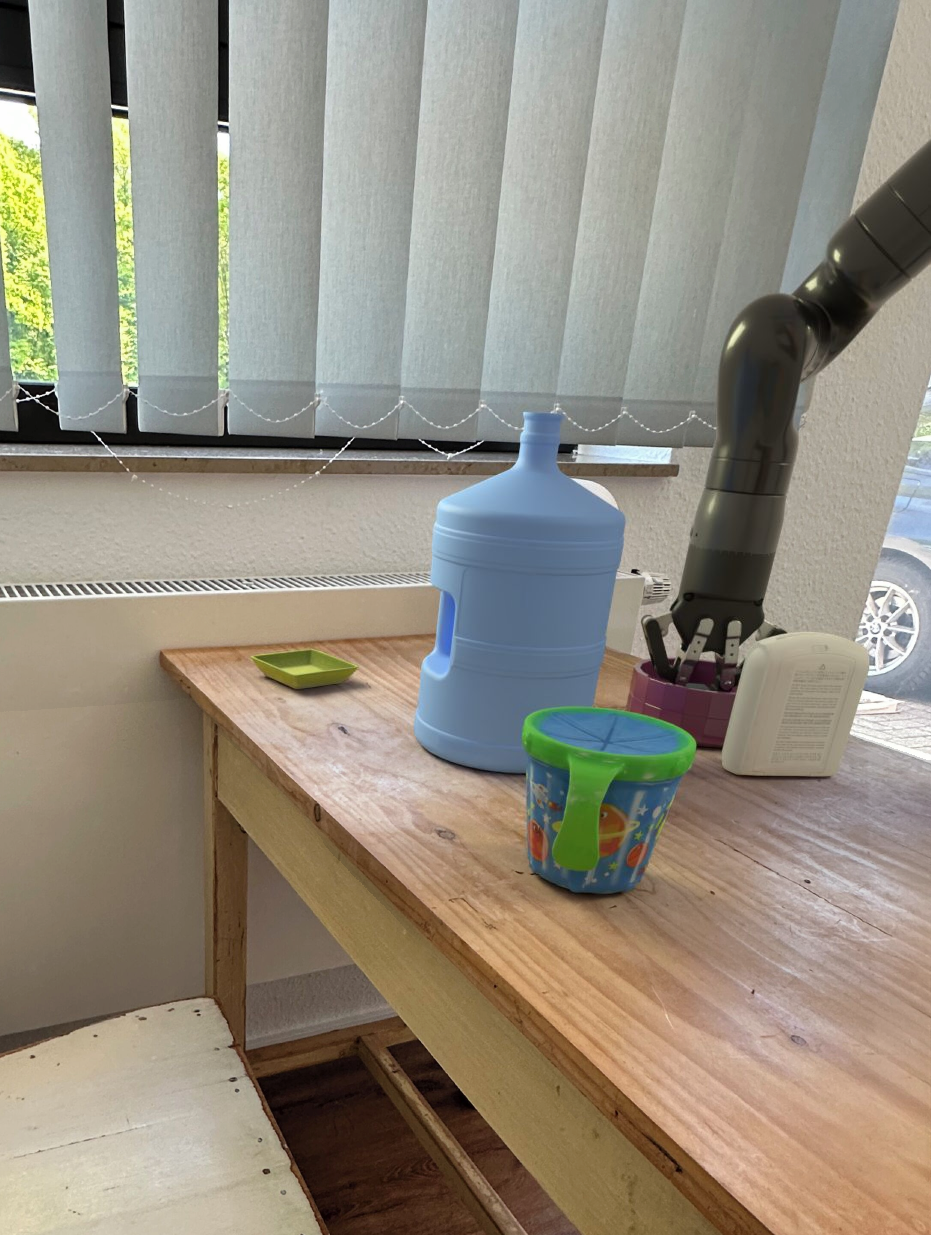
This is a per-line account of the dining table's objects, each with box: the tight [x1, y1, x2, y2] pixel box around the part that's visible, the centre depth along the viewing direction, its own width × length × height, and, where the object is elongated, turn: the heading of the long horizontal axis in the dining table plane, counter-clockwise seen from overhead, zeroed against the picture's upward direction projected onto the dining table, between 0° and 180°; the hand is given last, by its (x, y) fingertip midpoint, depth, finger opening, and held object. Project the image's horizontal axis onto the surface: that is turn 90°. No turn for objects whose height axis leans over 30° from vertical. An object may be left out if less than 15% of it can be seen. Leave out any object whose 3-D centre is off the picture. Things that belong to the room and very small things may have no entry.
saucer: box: [250, 648, 359, 690], centre depth 104 cm, size 9×9×2 cm
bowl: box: [625, 657, 739, 749], centre depth 94 cm, size 13×13×6 cm
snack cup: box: [522, 706, 697, 895], centre depth 62 cm, size 16×10×10 cm
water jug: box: [413, 411, 627, 774], centre depth 81 cm, size 16×16×28 cm
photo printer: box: [720, 631, 871, 777], centre depth 82 cm, size 10×4×12 cm, turn 98°
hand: (691, 721), depth 95 cm, fingers closed on eraser, 2 cm apart
